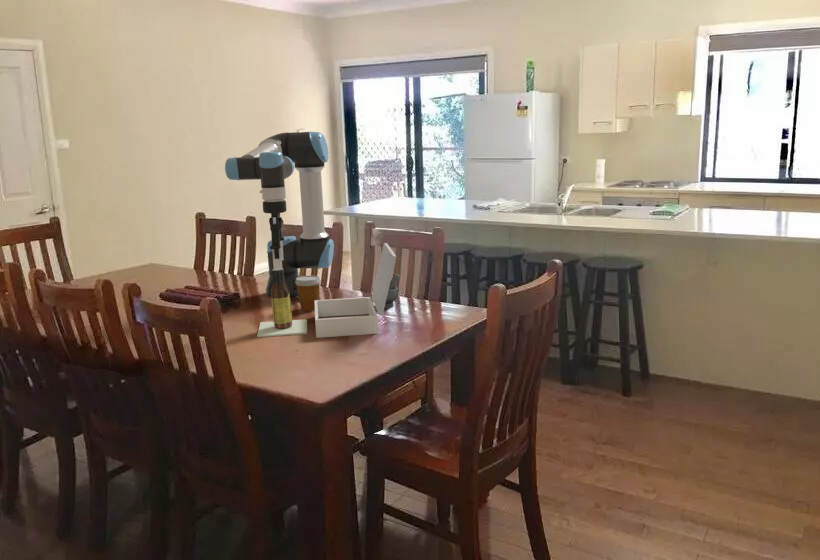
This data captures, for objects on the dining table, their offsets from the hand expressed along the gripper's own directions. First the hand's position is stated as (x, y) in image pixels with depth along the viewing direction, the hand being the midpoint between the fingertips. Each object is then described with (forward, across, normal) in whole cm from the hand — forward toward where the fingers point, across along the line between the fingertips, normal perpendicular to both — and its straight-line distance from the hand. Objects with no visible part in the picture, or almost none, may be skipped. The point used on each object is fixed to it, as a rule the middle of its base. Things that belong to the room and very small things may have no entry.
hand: (278, 264), depth 228 cm
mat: (+22, +1, 0) cm, 22 cm away
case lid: (+6, 0, +34) cm, 35 cm away
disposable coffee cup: (+23, -23, +9) cm, 34 cm away
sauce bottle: (+22, 0, 0) cm, 22 cm away
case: (+22, +1, +21) cm, 30 cm away
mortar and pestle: (+23, -21, +38) cm, 49 cm away
